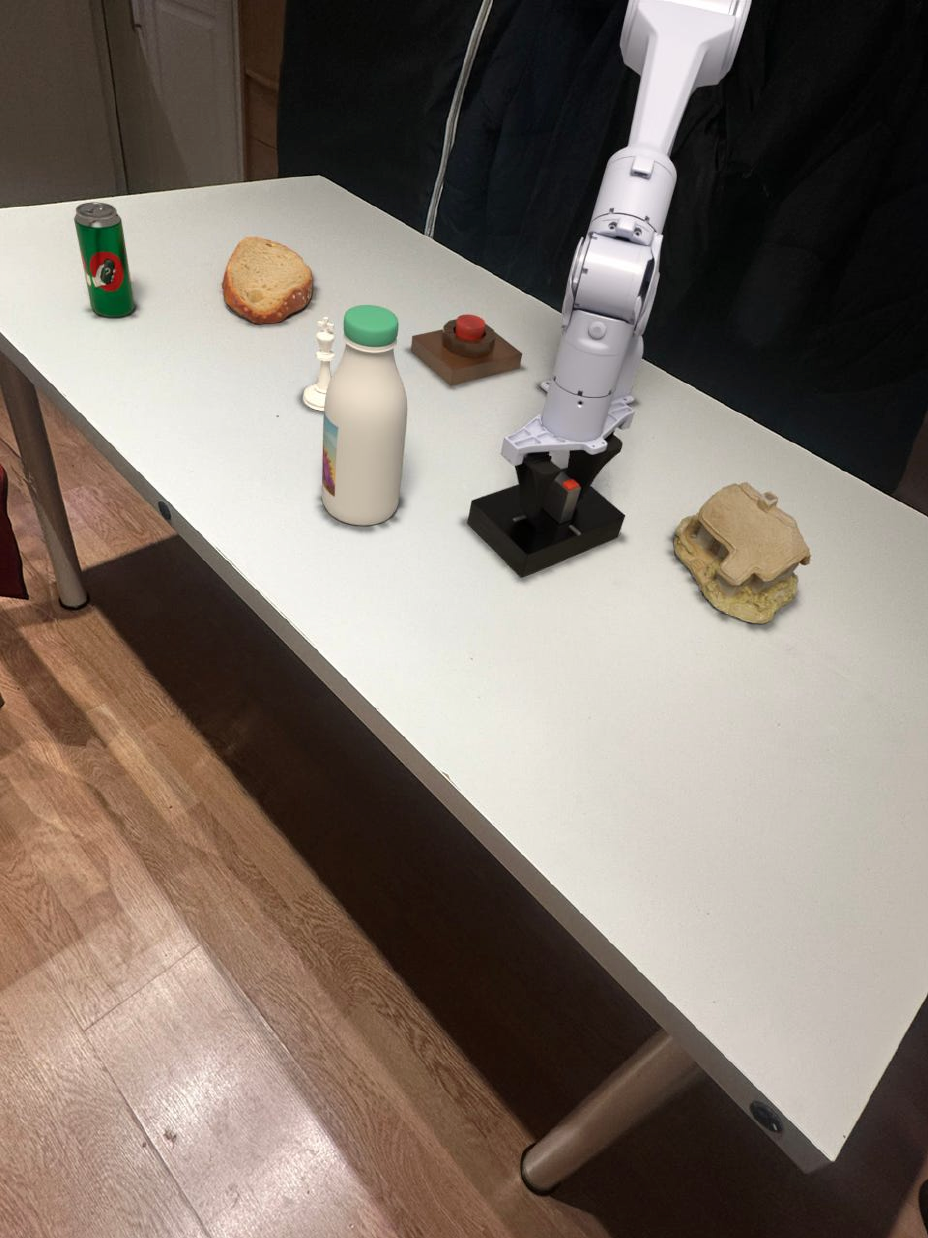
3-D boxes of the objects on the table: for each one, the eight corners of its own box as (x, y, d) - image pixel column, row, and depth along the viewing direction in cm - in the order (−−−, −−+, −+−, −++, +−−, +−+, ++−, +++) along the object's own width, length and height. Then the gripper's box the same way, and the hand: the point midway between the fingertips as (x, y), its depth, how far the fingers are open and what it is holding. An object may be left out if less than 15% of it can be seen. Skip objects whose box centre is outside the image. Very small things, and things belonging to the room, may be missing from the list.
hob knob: (527, 495, 83) (536, 460, 80) (539, 491, 84) (548, 456, 81) (559, 524, 80) (569, 489, 77) (571, 519, 81) (581, 485, 78)
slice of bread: (262, 245, 120) (261, 219, 118) (355, 291, 115) (356, 264, 112) (163, 279, 109) (160, 251, 107) (261, 331, 103) (260, 303, 101)
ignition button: (472, 325, 105) (474, 312, 104) (489, 338, 103) (491, 325, 102) (449, 330, 103) (451, 316, 102) (466, 343, 101) (468, 330, 100)
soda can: (144, 310, 103) (129, 211, 95) (111, 323, 100) (93, 222, 91) (115, 296, 105) (98, 197, 96) (82, 308, 101) (62, 207, 93)
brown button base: (478, 336, 111) (483, 307, 108) (519, 368, 106) (525, 340, 103) (410, 351, 105) (413, 322, 102) (450, 386, 101) (454, 356, 98)
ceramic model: (817, 601, 82) (866, 524, 75) (740, 636, 77) (785, 557, 70) (720, 517, 90) (756, 440, 83) (644, 544, 85) (676, 464, 78)
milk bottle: (409, 493, 85) (430, 310, 71) (380, 537, 80) (396, 348, 66) (341, 471, 86) (348, 285, 72) (308, 512, 81) (308, 321, 67)
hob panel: (561, 488, 90) (568, 464, 87) (618, 538, 85) (627, 514, 83) (466, 522, 83) (470, 498, 81) (522, 578, 79) (528, 554, 76)
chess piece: (338, 415, 93) (341, 333, 86) (296, 405, 93) (296, 322, 86) (351, 393, 97) (355, 312, 89) (311, 384, 97) (311, 302, 90)
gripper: (550, 423, 66) (519, 548, 76) (672, 385, 73) (629, 505, 83) (498, 379, 70) (474, 505, 79) (619, 347, 77) (584, 466, 87)
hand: (550, 502), depth 81 cm, fingers open, 5 cm apart
